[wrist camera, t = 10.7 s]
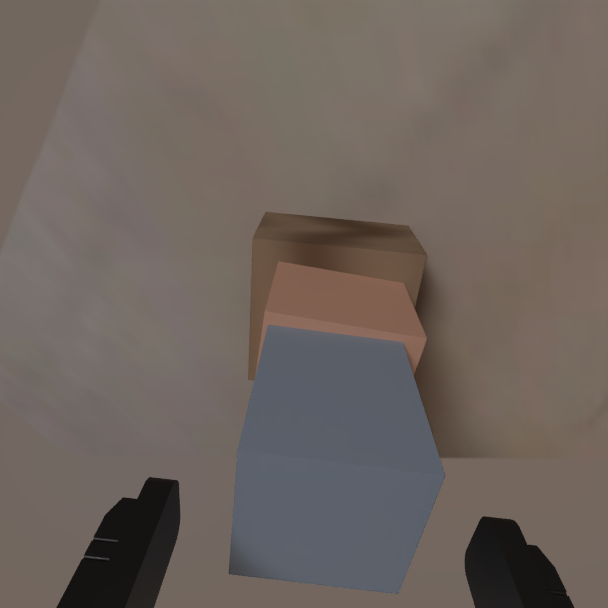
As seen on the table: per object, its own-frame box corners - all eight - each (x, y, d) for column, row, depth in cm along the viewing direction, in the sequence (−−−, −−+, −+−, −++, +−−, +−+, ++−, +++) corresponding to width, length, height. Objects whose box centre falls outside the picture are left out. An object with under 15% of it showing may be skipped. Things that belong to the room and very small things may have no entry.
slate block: (402, 342, 15) (445, 475, 10) (375, 441, 18) (397, 594, 12) (267, 324, 15) (237, 449, 10) (257, 426, 17) (228, 573, 12)
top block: (403, 283, 20) (427, 338, 15) (372, 383, 22) (385, 455, 18) (278, 261, 19) (264, 310, 15) (262, 365, 22) (247, 433, 18)
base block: (407, 224, 23) (427, 255, 19) (383, 344, 27) (394, 393, 23) (266, 210, 23) (252, 238, 19) (260, 332, 27) (248, 379, 23)
